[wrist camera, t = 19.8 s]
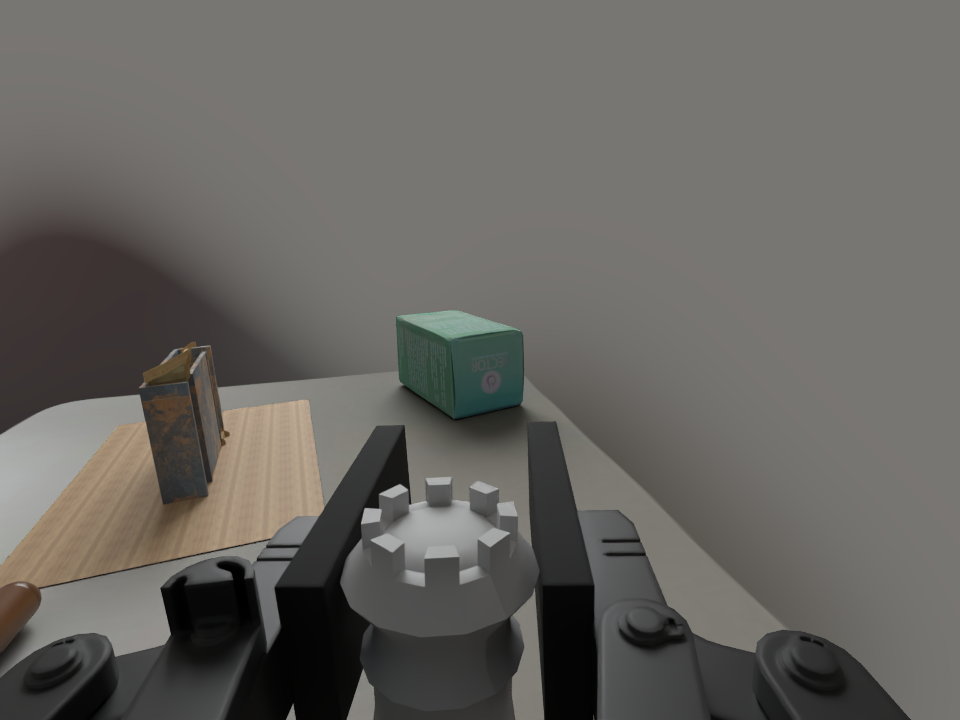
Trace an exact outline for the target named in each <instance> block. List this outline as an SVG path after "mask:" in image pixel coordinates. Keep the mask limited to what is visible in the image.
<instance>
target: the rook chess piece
mask: <svg viewBox="0 0 960 720" xmlns="http://www.w3.org/2000/svg"><path fill="white" fill-rule="evenodd" d="M425 482H426V501H423V502H419V503H415V504H411V505H409V490H408V489H406V488H405V487H403V486H402V485H401V484H399V485H397V486H395V487H393V488H391V489H389V490H387V491H385V492H382V493H380V494H379V509H371V508H365V509H364V513H363V518H362V522H361V533H362V539H361V540H360V541H359V542H358V544H357V545H356V546H355V548H354V549H353V550H352V551H351V553H350V554H349V555H348V556H347V558H346V560H345V564H344V568H343V572H342V576H341V580H340V584H341V586H342V589H343V591H344V594H345V596H346V598H347V601H348V603H349V605H350V607H351V608H352V609H353V610H354V611H355V612H357V613H358V614H359V615H360V616H362V617H363V618H364V619H365V620H367V621H368V622H369V623H370V626H369V627H368V628H367V630H366V631H365V633H364V634H363V641H362V647H361V653H360V661H361V663H362V666H363V668H364V671H365V673H366V676H367V679H368V681H369V683H370V684H371V685H372V686H374V696H375V711H374V720H515V715H514V708H513V701H512V676H513V675H514V674H515V673H516V672H517V670H518V666H519V663H520V660H521V656H522V653H523V650H524V643H523V639H522V634H521V630H520V625H519V623H518V622H517V620H516V619H515V618H514V617H513V616H512V615H513V614H514V613H515V612H516V611H517V610H518V609H519V608H520V607H521V606H522V605H523V604H524V603H525V602H526V601H527V600H528V599H529V598H530V597H531V596H532V594H533V591H534V588H535V585H536V582H537V579H538V576H539V572H540V570H539V566H538V563H537V560H536V557H535V554H534V551H533V548H532V547H531V546H530V545H529V543H528V542H527V541H526V540H525V539H524V538H523V537H522V535H521V534H520V533H519V532H518V516H517V512H516V509H515V506H514V502H513V501H511V502H505V503H499V489H497V488H495V487H492V486H490V485H487V484H485V483H482V482H479V481H477V482H475V483H474V484H473V485H472V486H471V487H470V502H465V501H459V500H452V477H444V478H425Z"/></svg>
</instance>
